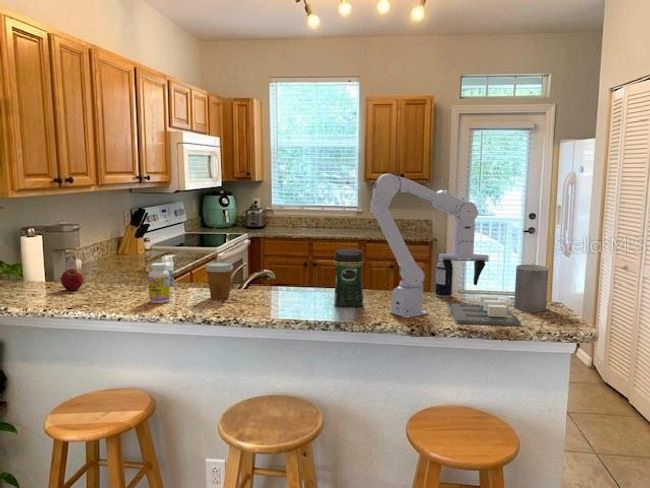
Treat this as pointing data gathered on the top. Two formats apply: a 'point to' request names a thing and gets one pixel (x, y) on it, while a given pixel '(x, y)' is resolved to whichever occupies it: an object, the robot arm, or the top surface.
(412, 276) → the robot arm
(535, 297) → the pillar candle
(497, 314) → the handle
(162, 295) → the supplement bottle
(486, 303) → the handle middle
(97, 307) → the top surface
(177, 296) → the top surface
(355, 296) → the coffee jar
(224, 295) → the disposable coffee cup
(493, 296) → the handle far
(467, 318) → the breaker panel
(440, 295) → the beverage can
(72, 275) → the apple
